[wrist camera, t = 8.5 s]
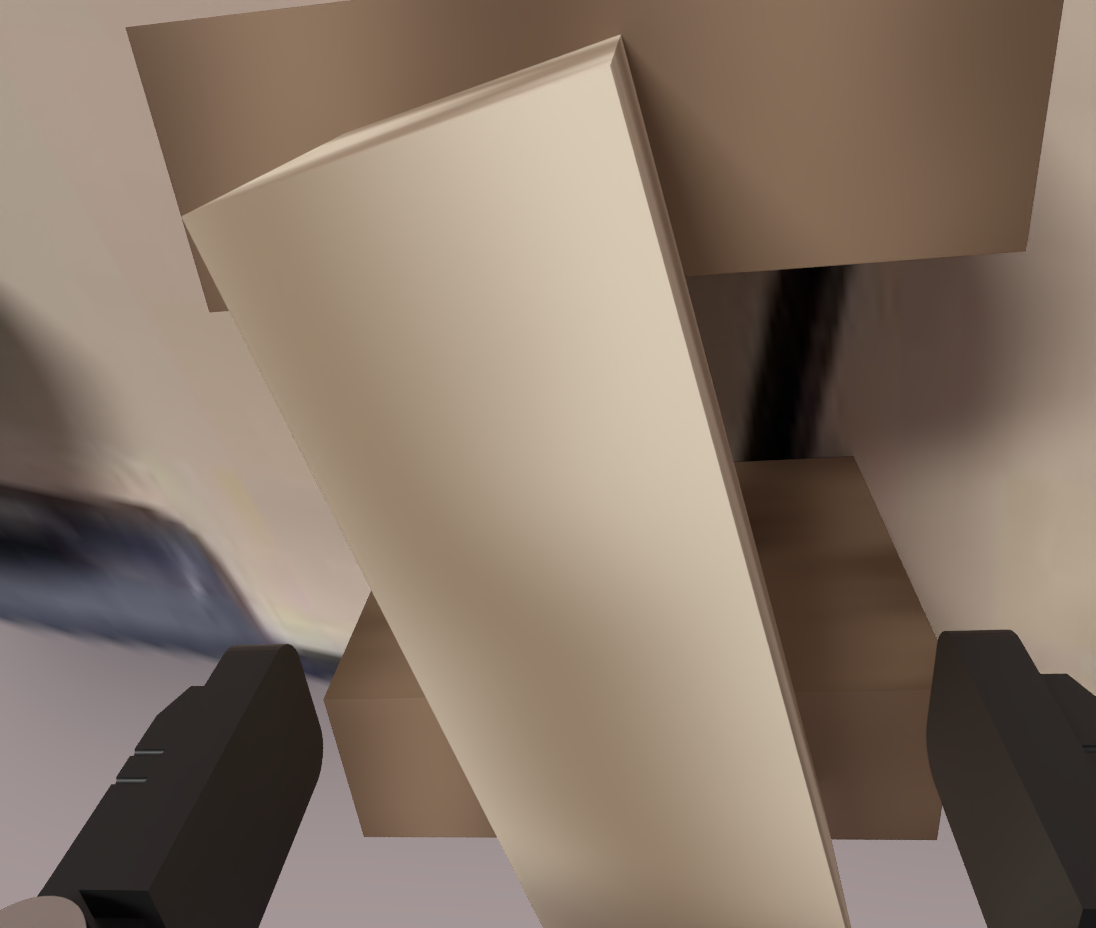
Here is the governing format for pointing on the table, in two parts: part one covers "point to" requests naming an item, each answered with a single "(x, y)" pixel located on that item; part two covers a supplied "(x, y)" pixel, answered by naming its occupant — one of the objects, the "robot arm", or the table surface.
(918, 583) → the table surface
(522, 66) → the slotted shelf
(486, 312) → the maple beam
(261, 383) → the table surface
